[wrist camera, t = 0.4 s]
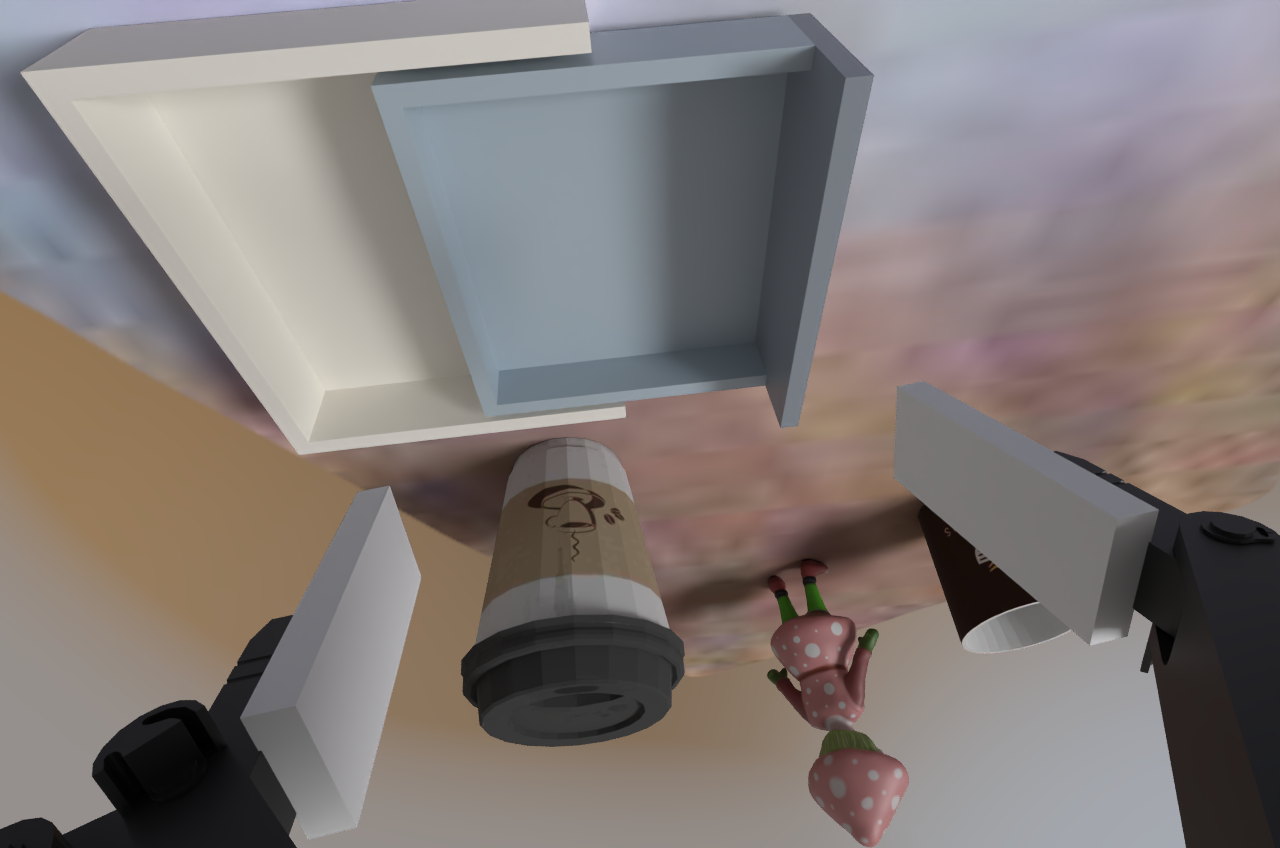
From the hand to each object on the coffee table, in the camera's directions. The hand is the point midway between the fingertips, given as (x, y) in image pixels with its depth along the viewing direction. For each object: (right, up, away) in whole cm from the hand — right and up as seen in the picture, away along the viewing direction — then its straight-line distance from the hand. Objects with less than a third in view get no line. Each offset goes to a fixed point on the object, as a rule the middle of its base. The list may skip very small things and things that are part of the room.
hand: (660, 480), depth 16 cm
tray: (-2, +10, +11) cm, 15 cm away
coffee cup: (-5, -2, +24) cm, 25 cm away
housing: (-10, +9, +11) cm, 17 cm away
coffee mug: (+26, -5, +33) cm, 42 cm away
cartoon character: (+12, -11, +37) cm, 41 cm away
